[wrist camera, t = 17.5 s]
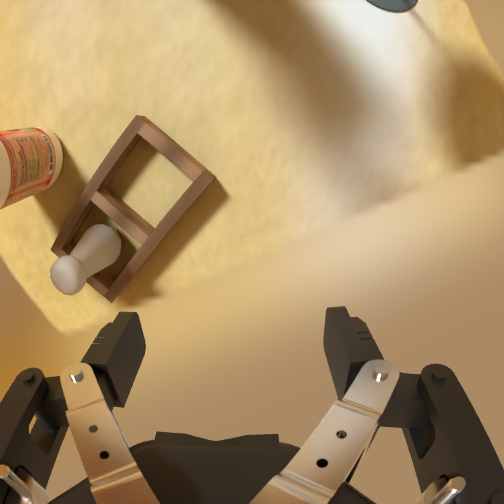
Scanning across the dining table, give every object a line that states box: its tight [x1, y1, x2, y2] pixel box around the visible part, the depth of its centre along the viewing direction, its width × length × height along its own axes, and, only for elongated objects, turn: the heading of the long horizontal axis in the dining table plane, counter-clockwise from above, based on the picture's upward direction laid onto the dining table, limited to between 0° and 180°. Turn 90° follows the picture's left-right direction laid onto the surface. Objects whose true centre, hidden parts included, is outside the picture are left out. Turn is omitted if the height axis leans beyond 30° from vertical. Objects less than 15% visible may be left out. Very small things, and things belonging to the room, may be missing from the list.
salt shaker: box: [50, 224, 121, 295], centre depth 35 cm, size 6×6×13 cm
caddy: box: [51, 115, 215, 303], centre depth 38 cm, size 12×22×3 cm, turn 137°
